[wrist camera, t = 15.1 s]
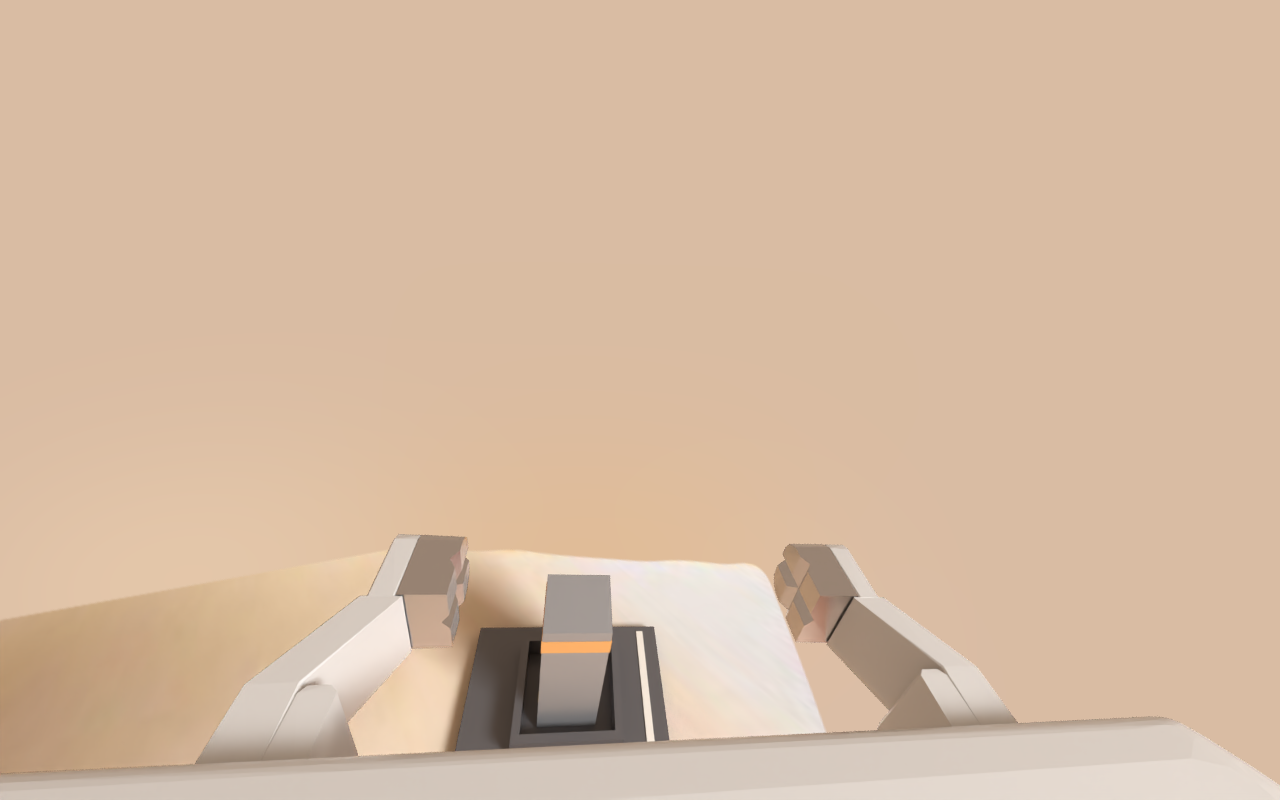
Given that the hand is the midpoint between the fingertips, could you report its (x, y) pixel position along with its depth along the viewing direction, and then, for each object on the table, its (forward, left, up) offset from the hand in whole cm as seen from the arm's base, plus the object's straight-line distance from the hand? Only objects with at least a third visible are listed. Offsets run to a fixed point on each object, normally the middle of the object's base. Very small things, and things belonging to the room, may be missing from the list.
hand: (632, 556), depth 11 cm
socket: (-9, +9, -32) cm, 34 cm away
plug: (-9, +9, -31) cm, 33 cm away
